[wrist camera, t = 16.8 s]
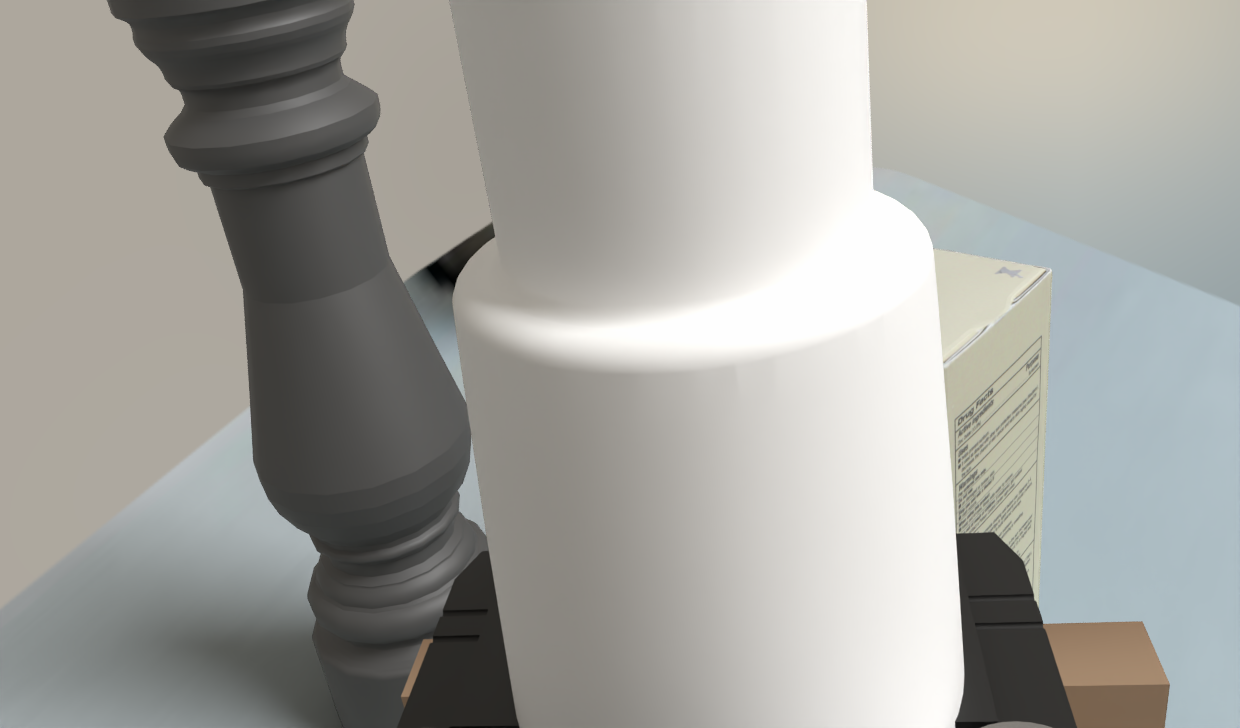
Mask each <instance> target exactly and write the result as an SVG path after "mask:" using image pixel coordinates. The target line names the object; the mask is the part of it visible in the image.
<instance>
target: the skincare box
mask: <svg viewBox="0 0 1240 728" xmlns="http://www.w3.org/2000/svg"><path fill="white" fill-rule="evenodd" d="M933 251H934V261H935V272H936V283H937V294H938V306H939V318H940V331H941V344H942V356H943V369H944V382H945V394H946V407H947V420H948V432H949V445H950V458H951V470H952V483H953V498H954V514H955V530H956V534H958V533H984V532H995V533H996V534H997V535H998V536H999V537H1000V538H1001V539H1002V540H1003V541H1004V542H1005V543H1006V544H1007V545H1008V546H1009V547H1010V548H1011V549H1012V550H1013V551H1014V552H1015V553H1016V554H1017V555H1018V556H1019V557H1020V558H1021V559H1022V560H1023V562H1024V565H1025V568H1026V571H1027V574H1028V577H1029V580H1030V583H1031V586H1032V589H1033V592H1034V600H1035V601H1036V602H1037V605H1038V608H1039V583H1040V559H1041V530H1042V507H1043V483H1044V458H1045V433H1046V411H1047V390H1048V363H1049V337H1050V314H1051V283H1052V270H1051V269H1050V268H1046V267H1042V266H1034V265H1026V264H1021V263H1017V262H1011V261H1006V260H999V259H994V258H989V257H983V256H978V255H972V254H966V253H960V252H955V251H950V250H944V249H937V248H933Z"/></svg>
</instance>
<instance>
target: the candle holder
mask: <svg viewBox="0 0 1240 728" xmlns="http://www.w3.org/2000/svg"><path fill="white" fill-rule="evenodd" d="M107 2H108V4H109V7H110V10H111V13H112V14H113V16H114V17H115V18H117V19H120V20H123V21H125V22H127V23H128V24H130V26H131V28H132V32H133V40H134V43H135V46H136V47H137V48H138V49H139V50H140V51H141V52H142V53H143V54H144V55H145V56H146V57H147V58H148V59H149V60H150V61H152V62H153V63H155V64H156V65H157V66H158V67H159V68H160V70H161V71H162V73H163V75H164V78H165V80H166V81H167V82H168V83H169V84H170V85H171V86H172V87H173V88H174V89H177V90H179V91H180V92H181V94H182V97H183V100H184V104H185V105H184V107H183V109H182V111H181V113H180V114H179V115H178V116H177V118H176V119H175V120H174V121H173V122H172V124H171V125H170V127H169V128H168V130H167V132H166V133H165V135H164V140H165V143H166V146H167V148H168V150H169V152H170V154H171V155H172V157H173V158H174V160H175V161H176V163H177V164H178V165H179V167H181V168H184V169H186V170H189V171H193V172H197V173H198V176H199V178H200V180H201V181H202V182H203V184H204V185H205V186H208V187H210V188H211V191H212V194H213V197H214V200H215V203H216V206H217V210H218V213H219V216H220V219H221V222H222V225H223V228H224V231H225V235H226V238H227V241H228V244H229V247H230V250H231V253H232V257H233V260H234V263H235V266H236V269H237V272H238V276H239V279H240V282H241V285H242V288H243V298H244V313H245V329H246V344H247V359H248V375H249V391H250V409H251V428H252V446H253V462H254V465H255V468H256V471H257V474H258V477H259V480H260V482H261V484H262V486H263V488H264V491H265V493H266V495H267V497H268V499H269V501H270V502H271V503H272V505H273V506H274V507H275V509H276V510H277V512H278V513H279V514H280V515H281V516H283V517H284V518H285V519H286V520H288V521H289V522H290V523H291V524H293V525H294V526H295V527H296V528H298V529H300V530H302V531H304V532H306V533H308V534H309V535H310V537H311V539H312V542H313V544H314V546H315V548H316V550H317V551H318V552H320V553H321V555H320V559H319V562H318V563H317V565H316V566H315V567H314V570H313V574H312V578H311V582H310V586H309V590H308V595H307V597H308V601H309V603H310V606H311V608H312V610H313V612H314V615H315V617H316V623H315V627H314V632H313V636H312V639H313V642H314V645H315V648H316V651H317V654H318V657H319V660H320V663H321V665H322V668H323V671H324V674H325V677H326V680H327V683H328V686H329V689H330V692H331V695H332V698H333V701H334V704H335V707H336V709H337V712H338V715H339V718H340V720H341V723H342V725H343V727H344V728H397V726H398V723H399V721H400V718H401V716H402V713H403V711H404V706H403V702H402V699H401V695H402V693H403V690H404V687H405V685H406V682H407V680H408V677H409V675H410V672H411V669H412V667H413V664H414V662H415V659H416V657H417V654H418V652H419V649H420V646H421V644H422V641H423V639H433V634H434V631H435V629H436V626H437V623H438V621H439V618H440V617H443V608H444V606H445V603H446V600H447V598H448V595H449V593H450V590H451V588H452V585H453V582H454V580H455V578H456V577H457V576H458V575H459V574H460V573H461V572H462V571H463V570H464V569H465V568H466V567H467V566H468V565H469V564H470V563H471V562H472V561H473V560H474V559H475V558H476V557H477V556H478V555H479V554H480V553H481V552H482V551H489V548H488V542H487V537H486V535H485V534H484V533H483V531H482V530H481V529H480V527H479V526H478V525H477V524H476V523H475V522H473V521H470V520H468V519H466V518H465V517H464V516H463V515H462V513H460V512H459V497H460V494H459V492H458V489H459V488H460V486H461V485H462V484H463V481H464V478H465V475H466V472H467V469H468V466H469V463H470V448H471V429H470V423H469V416H468V409H467V404H466V402H465V400H464V398H463V396H462V394H461V392H460V390H459V389H458V387H457V385H456V383H455V381H454V379H453V377H452V375H451V373H450V372H449V370H448V368H447V366H446V364H445V362H444V360H443V358H442V357H441V355H440V353H439V351H438V349H437V347H436V345H435V343H434V341H433V339H432V337H431V336H430V334H429V332H428V330H427V328H426V326H425V324H424V322H423V320H422V318H421V316H420V314H419V312H418V310H417V308H416V307H415V305H414V303H413V301H412V299H411V297H410V295H409V293H408V291H407V289H406V287H405V285H404V283H403V281H402V280H401V278H400V276H399V274H398V272H397V270H396V268H395V266H394V264H393V262H392V260H391V258H390V256H389V253H388V249H387V245H386V241H385V237H384V233H383V229H382V225H381V221H380V217H379V213H378V209H377V205H376V201H375V196H374V192H373V188H372V184H371V180H370V177H369V172H368V169H367V164H366V160H365V156H364V152H365V150H366V148H367V145H368V138H367V135H368V134H369V133H370V132H371V131H372V130H373V129H374V128H375V127H376V124H377V122H378V119H379V117H380V103H379V98H378V94H377V93H375V92H374V91H373V90H371V89H369V88H368V87H366V86H364V85H362V84H361V83H359V82H357V81H355V80H353V79H351V78H349V77H347V76H346V75H344V74H343V70H342V67H341V62H340V57H341V56H342V54H343V53H344V51H345V49H346V46H347V43H346V29H347V25H348V22H349V20H350V18H351V16H352V13H353V9H354V0H107Z"/></svg>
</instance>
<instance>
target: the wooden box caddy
mask: <svg viewBox="0 0 1240 728" xmlns="http://www.w3.org/2000/svg"><path fill="white" fill-rule="evenodd" d="M1043 628H1044V629H1045V630H1046V633H1047V636H1048V639H1049V642H1050V645H1051V648H1052V651H1053V654H1054V657H1055V661H1056V664H1057V667H1058V670H1059V673H1060V676H1061V679H1062V682H1063V685H1064V688H1065V691H1066V695H1067V698H1068V701H1069V704H1070V707H1071V710H1072V713H1073V716H1074V719H1075V722H1076V725H1077V728H1164V727H1165V719H1166V711H1167V703H1168V695H1169V687H1170V684H1169V681H1168V679H1167V677H1166V675H1165V672H1164V670H1163V668H1162V665H1161V663H1160V661H1159V659H1158V656H1157V654H1156V652H1155V649H1154V647H1153V645H1152V643H1151V640H1150V638H1149V636H1148V633H1147V631H1146V629H1145V627H1144V624H1143V622H1102V623H1062V624H1043ZM432 642H433V639H423V641H422V644H421V646H420V649H419V652H418V654H417V657H416V659H415V662H414V664H413V667H412V669H411V672H410V675H409V677H408V680H407V682H406V685H405V687H404V690H403V693H402V695H401V699H402V702H403V706H404V708H405V706H406V703H407V700H408V698H409V695H410V693H411V690H412V688H413V685H414V682H415V680H416V677H417V675H418V672H419V670H420V667H421V664H422V662H423V659H424V657H425V654H426V652H427V649H428V647H429V644H430V643H432Z"/></svg>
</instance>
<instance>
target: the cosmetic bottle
mask: <svg viewBox="0 0 1240 728" xmlns="http://www.w3.org/2000/svg"><path fill="white" fill-rule="evenodd" d="M449 2H450V7H451V12H452V18H453V22H454V28H455V33H456V38H457V43H458V48H459V53H460V58H461V64H462V69H463V74H464V79H465V83H466V89H467V94H468V99H469V104H470V110H471V115H472V120H473V124H474V130H475V135H476V140H477V145H478V150H479V155H480V161H481V166H482V170H483V176H484V180H485V186H486V191H487V196H488V201H489V206H490V212H491V217H492V222H493V227H494V232H495V237H494V238H493V239H492V240H490V241H489V242H487V243H486V244H485V245H484V246H483V247H481V248H480V249H479V250H478V251H477V252H476V253H475V254H474V255H473V256H472V257H471V258H470V259H469V261H468V262H467V264H466V265H465V267H464V268H463V270H462V271H461V273H460V274H459V276H458V279H457V282H456V285H455V289H454V293H453V298H452V302H453V312H454V320H455V327H456V334H457V341H458V349H459V356H460V363H461V369H462V376H463V383H464V389H465V396H466V403H467V409H468V416H469V423H470V429H471V436H472V443H473V449H474V456H475V463H476V469H477V476H478V483H479V489H480V496H481V503H482V509H483V516H484V523H485V529H486V536H487V542H488V548H489V554H490V560H491V566H492V572H493V578H494V585H495V591H496V597H497V603H498V609H499V615H500V621H501V627H502V633H503V639H504V645H505V651H506V657H507V663H508V669H509V675H510V681H511V687H512V693H513V699H514V705H515V710H516V716H517V720H518V723H519V727H520V728H955V720H956V718H957V716H958V713H959V709H960V705H961V701H962V696H963V688H964V657H963V641H962V625H961V609H960V593H959V578H958V562H957V546H956V530H955V514H954V498H953V483H952V470H951V458H950V445H949V432H948V420H947V407H946V394H945V382H944V369H943V356H942V344H941V331H940V318H939V306H938V294H937V283H936V272H935V261H934V251H933V246H932V242H931V239H930V237H929V234H928V231H927V229H926V228H925V226H924V225H923V224H922V223H921V221H920V220H919V219H918V218H917V217H916V215H915V214H914V213H913V212H912V211H910V210H909V209H907V208H906V207H905V206H903V205H902V204H900V203H899V202H898V201H896V200H894V199H892V198H890V197H888V196H886V195H884V194H882V193H879V192H877V191H875V190H873V172H872V147H871V146H872V144H871V118H870V117H871V115H870V87H869V57H868V28H867V0H449Z"/></svg>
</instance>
